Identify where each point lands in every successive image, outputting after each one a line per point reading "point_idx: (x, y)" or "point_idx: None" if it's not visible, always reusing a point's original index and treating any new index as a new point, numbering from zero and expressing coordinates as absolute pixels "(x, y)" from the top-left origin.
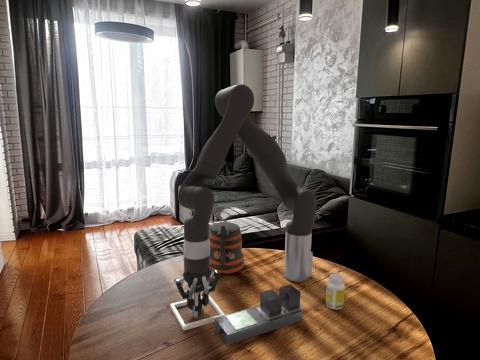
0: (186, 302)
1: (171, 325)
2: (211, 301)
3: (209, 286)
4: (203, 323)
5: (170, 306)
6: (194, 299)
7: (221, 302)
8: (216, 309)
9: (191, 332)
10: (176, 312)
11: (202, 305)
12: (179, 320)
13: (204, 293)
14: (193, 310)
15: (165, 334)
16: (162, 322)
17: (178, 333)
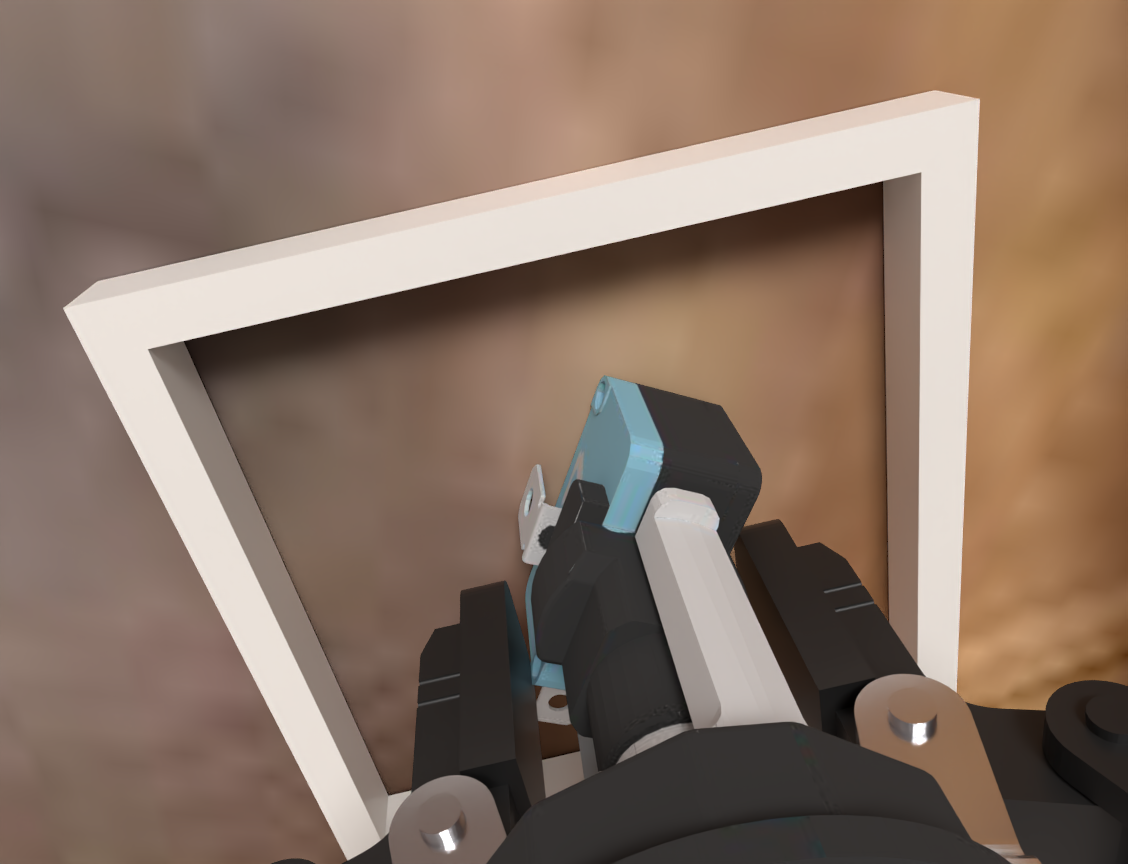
0: (434, 273)
1: (192, 728)
2: (920, 387)
3: (1087, 826)
4: None
5: (88, 292)
6: (588, 726)
7: (1077, 314)
8: (903, 560)
9: None
10: (235, 601)
11: (725, 423)
12: (300, 757)
13: None
14: (534, 657)
15: (135, 857)
16: (35, 657)
17: (301, 855)
